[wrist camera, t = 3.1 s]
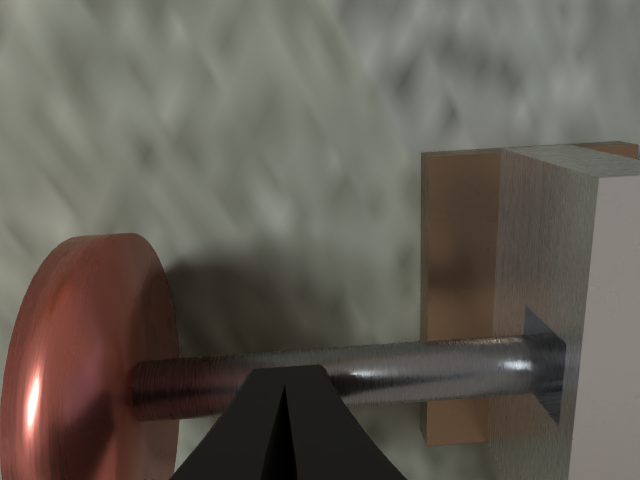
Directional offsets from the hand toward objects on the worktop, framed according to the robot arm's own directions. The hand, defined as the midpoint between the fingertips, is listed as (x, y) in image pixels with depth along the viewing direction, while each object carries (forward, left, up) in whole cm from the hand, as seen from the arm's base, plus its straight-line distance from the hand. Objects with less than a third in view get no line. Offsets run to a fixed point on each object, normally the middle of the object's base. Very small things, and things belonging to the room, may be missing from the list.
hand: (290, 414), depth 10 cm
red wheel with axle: (-2, 0, -4) cm, 5 cm away
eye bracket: (-6, 0, -5) cm, 8 cm away
